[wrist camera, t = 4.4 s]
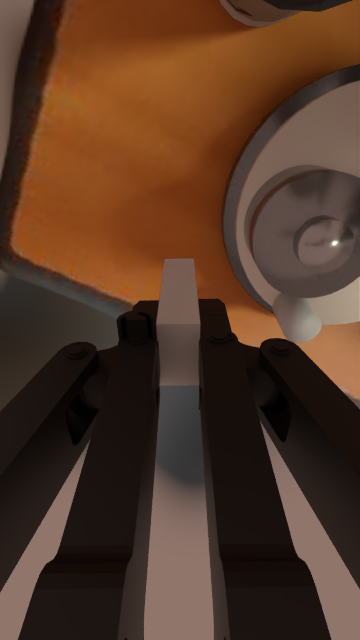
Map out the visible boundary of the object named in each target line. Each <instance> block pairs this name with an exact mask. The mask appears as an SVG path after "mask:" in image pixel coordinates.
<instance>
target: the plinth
mask: <svg viewBox="0 0 360 640" xmlns="http://www.w3.org/2000/svg"><path fill="white" fill-rule="evenodd" d="M356 81H360V64H359V65H355V66H351V67H347V68H344V69H341V70H339V71H336V72H333V73H331V74H329V75H326V76H324V77H321V78H319V79H316V80H314V81H312V82H311V83H309V84H307V85H305V86H304V87H302V88H300V89H298V90H297V91H295V92H294V93H293V94H291V95H290V96H289V97H287V98H286V99H285V100H283V101H282V102H281V103H280V104H278V105H277V106H276V107H275V108H274V109H273V110H272V111H271V112H270V113H269V114H268V115H267V116H266V117H265V118H264V119H263V120H262V122H261V123H260V124H259V125H258V126H257V128H256V129H255V130H254V131H253V132H252V134H251V135H250V137H249V139H248V140H247V142H246V143H245V145H244V146H243V148H242V149H241V151H240V153H239V155H238V157H237V159H236V161H235V163H234V165H233V168H232V171H231V173H230V176H229V179H228V181H227V185H226V189H225V194H224V198H223V206H222V234H223V241H224V246H225V249H226V253H227V256H228V259H229V262H230V265H231V267H232V269H233V271H234V274H235V276H236V278H237V279H238V281H239V282H240V284H241V285H242V287H243V288H244V289H245V291H246V292H247V293H248V294H249V295H250V296H251V297H252V298H253V299H254V300H255V301H256V302H258V303H259V304H260V305H261V306H263V307H264V308H266V309H267V310H269V311H271V312H272V313H273V309H272V306H271V305H269V304H268V303H267V302H266V301H265V300H264V299H263V298H262V297H261V296H260V295H259V294H258V293H257V291H256V290H255V289H254V287H253V286H252V284H251V282H250V281H249V279H248V277H247V275H246V273H245V270H244V268H243V266H242V263H241V261H240V257H239V254H238V250H237V244H236V236H235V220H236V212H237V205H238V201H239V197H240V193H241V190H242V187H243V184H244V182H245V179H246V177H247V174H248V172H249V170H250V168H251V166H252V164H253V162H254V161H255V159H256V157H257V155H258V154H259V152H260V151H261V150H262V148H263V147H264V145H265V144H266V142H267V141H268V140H269V139H270V137H271V136H272V135H273V134H274V133H275V132H276V130H277V129H278V128H279V127H280V126H281V125H282V124H283V123H284V122H285V121H286V120H288V119H289V118H290V117H291V116H292V115H293V114H294V113H295V112H297V111H298V110H299V109H301V108H302V107H304V106H305V105H306V104H308V103H309V102H310V101H312V100H314V99H316V98H317V97H319V96H321V95H323V94H325V93H326V92H328V91H331V90H333V89H336V88H338V87H341V86H343V85H346V84H349V83H352V82H356Z"/></svg>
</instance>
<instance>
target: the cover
mask: <svg viewBox="0 0 360 640" xmlns="http://www.w3.org/2000/svg"><path fill="white" fill-rule="evenodd" d="M244 238H245V242H246V245H247V248H248V250H249V252H250V254H251V256H252V258H253V260H254V261H255V263H256V265H257V267H258V269H259V271H260V273H261V274H262V276H263V278H264V279H265V280H266V281H267V282H268V283H269V284H270V285H271V286H272V287H273V288H275V289H276V290H278V291H279V292H281V293H283V294H286V295H289V296H292V297H297V298H316V297H322V296H325V295H329V294H332V293H334V292H337V291H339V290H341V289H343V288H345V287H346V286H348V285H349V284H351V283H352V282H354V281H355V280H356V279H357V278H358V277H360V178H359V177H357V176H354V175H351V174H348V173H344V172H340V171H337V170H333V169H329V168H325V167H321V166H316V165H299V166H295V167H291V168H288V169H285V170H283V171H281V172H279V173H277V174H276V175H274V176H273V177H271V178H270V179H269V180H268V181H266V182H265V183H264V184H263V185H262V186H261V187H260V188H259V190H258V191H257V192H256V194H255V195H254V196H253V198H252V200H251V202H250V204H249V206H248V209H247V211H246V215H245V220H244Z"/></svg>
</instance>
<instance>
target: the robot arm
mask: <svg viewBox="0 0 360 640" xmlns="http://www.w3.org/2000/svg"><path fill="white" fill-rule="evenodd" d="M117 327H118V335H119V342H118V345H117V346H114V347H112V348H109V349H105V350H100V351H97V349H96V346H94V345H93V344H91V343H88V342H76V343H71V344H69V345H67V346H64V347H63V348H62V349H60V350H59V351H58V352H57V353H56V354H55V355H54V356H53V357H52V358H51V359H50V360H49V362H48V363H47V364H46V365H45V366H44V367H43V368H42V369H41V370H40V371H39V372H38V373H37V374H36V375H35V376H34V377H33V378H32V379H31V380H30V381H29V383H27V384H26V386H25V387H24V388H23V389H22V390H21V391H20V392H19V393H18V394H17V395H16V396H15V397H14V398H13V399H12V400H11V401H10V402H9V403H8V404H7V405H6V407H5V408H4V409H2V411H1V412H0V592H1V590H2V588H3V587H4V585H5V583H6V582H7V580H8V578H9V577H10V575H11V573H12V571H13V569H14V568H15V566H16V565H17V563H18V561H19V559H20V558H21V556H22V554H23V553H24V551H25V549H26V547H27V546H28V544H29V542H30V541H31V539H32V537H33V536H34V534H35V532H36V530H37V529H38V527H39V525H40V524H41V522H42V520H43V518H44V517H45V515H46V513H47V511H48V510H49V508H50V507H51V505H52V503H53V501H54V500H55V498H56V496H57V495H58V493H59V491H60V489H61V488H62V486H63V484H64V483H65V481H66V479H67V478H68V476H69V474H70V472H71V471H72V469H73V467H74V466H75V464H76V462H77V460H78V459H79V457H80V455H81V453H82V452H83V450H84V449H85V447H86V445H87V443H88V442H89V440H90V443H89V446H88V450H87V454H86V457H85V460H84V464H83V467H82V470H81V474H80V477H79V481H78V484H77V488H76V491H75V495H74V498H73V502H72V505H71V509H70V512H69V516H68V519H67V522H66V526H65V529H64V533H63V536H62V540H61V543H60V546H59V549H58V552H57V554H56V556H55V558H54V559H53V560H52V561H50V562H49V563H47V564H46V565H45V566H44V568H43V570H42V571H41V573H40V575H39V578H38V580H37V583H36V585H35V588H34V591H33V594H32V597H31V600H30V604H29V607H28V610H27V613H26V616H25V619H24V622H23V626H22V629H21V632H20V635H19V638H18V640H144V606H145V593H146V580H147V566H148V553H149V539H150V526H151V511H152V498H153V485H154V471H155V458H156V444H157V430H158V417H159V404H160V387H159V384H160V386H164V385H167V386H168V385H199V410H200V415H201V431H202V446H203V461H204V475H205V492H206V507H207V522H208V537H209V552H210V566H211V567H210V568H211V582H212V597H213V614H214V640H331V637H330V634H329V630H328V627H327V623H326V620H325V616H324V613H323V610H322V606H321V603H320V600H319V596H318V593H317V589H316V586H315V583H314V580H313V578H312V575H311V572H310V570H309V568H308V566H307V565H306V563H305V562H304V561H303V560H301V559H300V558H299V557H298V555H297V553H296V551H295V549H294V546H293V542H292V539H291V535H290V531H289V527H288V523H287V520H286V516H285V512H284V509H283V505H282V501H281V498H280V494H279V490H278V487H277V483H276V479H275V475H274V472H273V468H272V464H271V460H270V457H269V453H268V449H267V446H266V442H265V438H264V434H263V431H262V427H261V423H262V424H263V426H264V428H265V430H266V431H267V433H268V435H269V436H270V438H271V440H272V441H273V443H274V445H275V447H276V448H277V450H278V452H279V453H280V455H281V457H282V458H283V460H284V462H285V463H286V465H287V467H288V468H289V470H290V472H291V474H292V475H293V477H294V479H295V480H296V482H297V484H298V485H299V487H300V489H301V491H302V492H303V494H304V496H305V497H306V499H307V501H308V502H309V504H310V506H311V507H312V509H313V511H314V512H315V514H316V516H317V518H318V519H319V521H320V523H321V524H322V526H323V528H324V529H325V531H326V533H327V535H328V536H329V538H330V540H331V541H332V543H333V545H334V546H335V548H336V550H337V552H338V553H339V555H340V556H341V558H342V560H343V562H344V563H345V565H346V567H347V568H348V570H349V572H350V574H351V575H352V577H353V579H354V580H355V582H356V584H357V585H358V587H359V589H360V409H359V408H358V407H357V406H356V405H355V404H354V403H353V402H352V401H351V400H350V399H349V398H348V397H347V396H346V395H345V394H344V393H343V392H342V391H341V390H340V389H339V388H338V386H337V385H336V384H335V383H334V382H333V381H332V380H331V379H330V378H329V377H328V376H327V375H326V374H325V373H324V372H323V371H322V370H321V369H320V368H319V367H318V366H317V365H316V364H315V363H314V362H313V361H312V360H311V359H310V358H309V357H308V356H307V355H306V354H305V353H304V352H303V351H302V350H301V349H300V348H299V346H297V345H296V344H295V343H293V342H291V341H288V340H286V339H281V338H271V339H268V340H265V341H263V342H262V343H261V346H260V348H258V347H252V346H248V345H245V344H242V343H240V342H239V341H238V338H237V337H236V335H235V334H234V333H232V331H231V327H230V323H229V319H228V316H227V311H226V307H225V304H224V303H223V302H222V301H221V300H219V299H198V296H197V286H196V277H195V267H194V258H181V259H164V267H163V275H162V283H161V291H160V299H159V300H154V301H139V302H138V303H137V304H135V305H134V306H133V310H132V311H129V312H126V313H124V314H122V315H120V316H119V317H118V318H117ZM259 419H260V420H259ZM260 421H261V423H260ZM90 438H91V439H90Z"/></svg>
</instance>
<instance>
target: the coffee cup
mask: <svg viewBox="0 0 360 640" xmlns="http://www.w3.org/2000/svg"><path fill="white" fill-rule="evenodd" d="M219 1H220V4H221V5H222V6H223V7H224V8H225V10H226V11H227V12H228V13H229V14H230V15H231V16H232V17H233V18H234V19H236V20H238V21H240V22H242V23H243V24H245V25H247V26H258V27H266V26H269V25H271V24H274V23H277V22H280V21H282V20H284V19H286V18H289V17H291V16H293V15H295V14H297V13H299V12H301V11H317V12H321V11H323V10H326V9H329V8H332V7H335V6H338V5H340V4H343V3H346V2H349V1H352V0H219Z"/></svg>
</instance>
